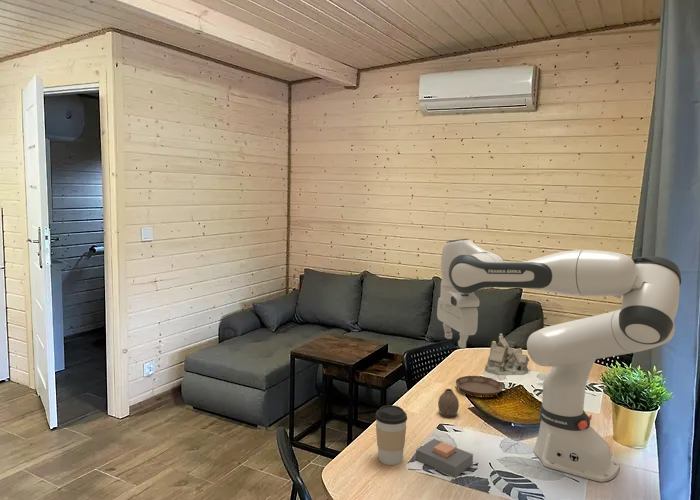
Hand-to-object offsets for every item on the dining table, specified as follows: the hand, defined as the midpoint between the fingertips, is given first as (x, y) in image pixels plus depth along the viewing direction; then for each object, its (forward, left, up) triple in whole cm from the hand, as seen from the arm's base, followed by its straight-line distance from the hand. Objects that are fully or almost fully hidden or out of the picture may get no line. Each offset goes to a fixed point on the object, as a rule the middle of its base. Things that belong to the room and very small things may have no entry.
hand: (455, 342), depth 148 cm
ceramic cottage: (+20, -74, -33) cm, 83 cm away
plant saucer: (+17, -46, -33) cm, 59 cm away
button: (-2, +7, -32) cm, 33 cm away
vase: (+14, -20, -33) cm, 41 cm away
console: (-2, +7, -33) cm, 34 cm away
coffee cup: (+10, +16, -33) cm, 38 cm away
